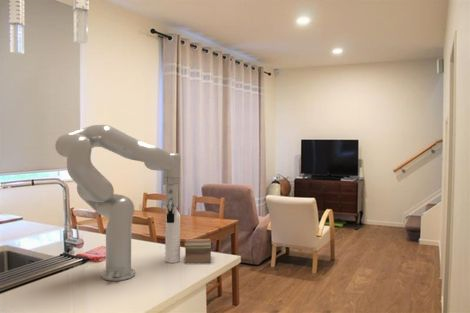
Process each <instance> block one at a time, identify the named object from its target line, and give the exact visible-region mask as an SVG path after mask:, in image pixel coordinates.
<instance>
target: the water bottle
mask: <svg viewBox="0 0 470 313" xmlns="http://www.w3.org/2000/svg"><path fill="white" fill-rule="evenodd" d="M162 209H166V210H167V208H166V204H165V205H162ZM164 245H165V248H164V250H165V252H164V254H165V256H164V259H165V260H164V261H165V263H169V264H172V263H173V264H174V263H175V264H176V263H179V262H180V261H181V214H180V212H179V210H178V208H176V207H174V223H167V213H166V214H165V244H164Z"/></svg>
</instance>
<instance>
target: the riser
mask: <svg viewBox="0 0 470 313" xmlns="http://www.w3.org/2000/svg"><path fill="white" fill-rule="evenodd" d="M211 241H212V240H211V238H186V239H185V244H184V249H185V251H184V252H185V255H184V264H185V263H210V264H211V262H212V261H211V258H212V257H211V255H212V253H211V251H212V244H211Z"/></svg>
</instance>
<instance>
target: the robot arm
mask: <svg viewBox="0 0 470 313" xmlns="http://www.w3.org/2000/svg"><path fill="white" fill-rule="evenodd" d="M54 147H55V151H56V153H58V155H59V156H61V157H64V158H66V168H67V169H66V170H67V173H68V175H69V177H70V178H71V180H72V181H73V182H74V183H75V184H76V192H77V194H78V195H79V198H80V199H82V200H83V201H84V202H85V203H86V204H87V205H89V207H90V208H91V209H93V210H94V211H95V212H96V213H97V214H99V215H100V216H103V217H105V218H108V220H107V224H106V228H105V270H103V271H102V272H101V278H102V280H105V281H109V282H110V281H112V282H118V281H126V280H129V279H132V278H133V277H135V275H136V271H135V270H134V269H133V268H132V227H133V217H134V212H135V205H134V203H133V201H132V200H131V198H129V197H128V196H125V195H122V194H117V193H115V190H114V186H113V184H112V183H111V181H110V180H108V179H107V178H106V177H105V176H104V175H103V174H102V173H101V172H100V170H98V169H97V168H96V167H95V166H94V164H93V162H92V157H91V156H92V151H93V148H97V147H98V148H101V149H102V148H103V149H105V150H107V151H109V152H112V153H113V154H116V155H118V156H121V157H122V158H125V159H127V160H130V161H131V160H132V161H137V162H141V163H143V164H144V166H145V167H146V168H147V169H149V170H150V171H158V172H159V171H160V172H162V185H163V186H165V205H166V214H167V223H174V207H176V209H178V206H179V186H180V185H181V158H182V157H181V155H180V153H177V152H167V151H165V150H164V149H162V148H160V147H158V146H155V145H153V144H150V143H148V142H145V141H142V140H140V139H136V138H134V137H133V136H131V135H128V134H126V133H125V132H123V131H121V130H119V129H116V128H115V127H113V126H111V125H109V124H94V125H93V124H92V125H89V126H87V127H83V128H81V129H77V130H75V131H70V132H68V133H65V134H63V135H61V136H59V137H58V138H57V139H56V141H55V145H54Z"/></svg>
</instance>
